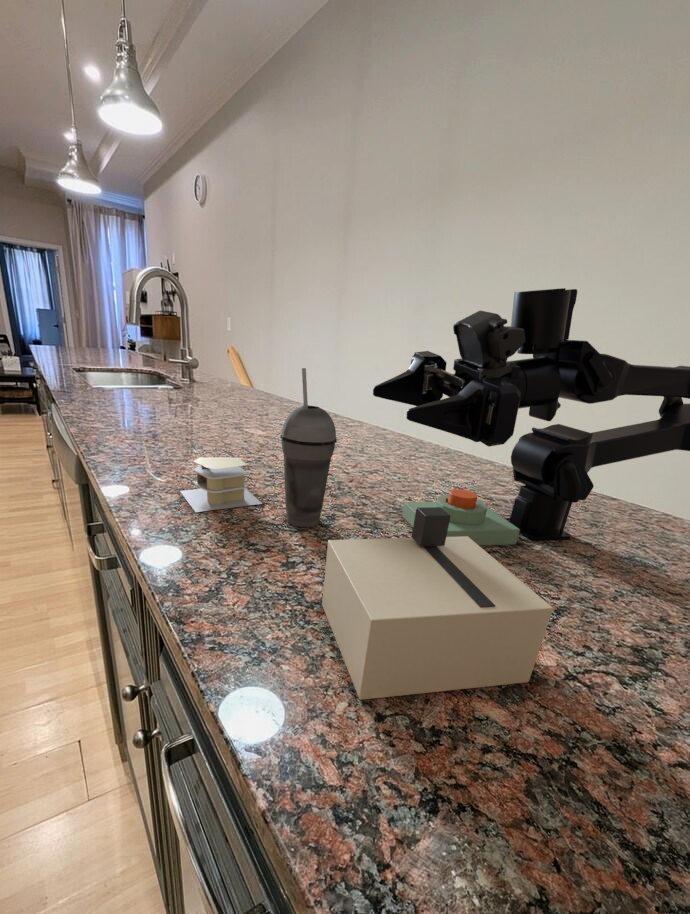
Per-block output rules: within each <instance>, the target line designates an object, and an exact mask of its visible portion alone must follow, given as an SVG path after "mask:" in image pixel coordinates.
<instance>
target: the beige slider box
mask: <svg viewBox="0 0 690 914" xmlns="http://www.w3.org/2000/svg"><path fill="white" fill-rule="evenodd" d="M324 570H325V571H324V581H323V590H322V591H323V592H322V601H321V605H322V608H323V610H324V613H325V616H326V618H327V620H328V624H329V626H330V628H331V631H332V633H333V636H334V639H335V641H336V644H337V646H338V649H339V651H340V654H341V656H342V659H343V661H344V664H345V666H346V669H347V672H348V674H349V677H350V679H351V682H352V684H353V687H354V689H355V692H356V694H357V697H358V699H359V700H360V701H363V700H373V699H381V698H391V697H401V696H411V695H419V694H429V693H439V692H449V691H457V690H465V689H466V690H467V689H477V688H486V687H496V686H505V685H515V684H516V685H517V684H526V683H529V682H530V680H531V676H532V674H533V671H534V667H535V664H536V662H537V659H538V655H539V652H540V651H541V650H540V649H541V646H542V643H543V640H544V637H545V634H546V632H547V628H548V626H549V624H550V623H549V622H550V620H551V618H552V614H553V611H554V607H553V606H551V605H550V604H549V602H547V601H545V600H544V599H543V598H542V597H541V596H539V595H538V594H537V593H536V592H535V591H534V590H532V589H531V588H530V587H529V586H528V585H526V584H525V583H524V582H523V581H522V580H521V579H519V577H517V576H516V575H514V574H513V573H512V572H511V571H510V570H509V569H508V568H506V567H505V566H504V565H503V564H502V563H500V561H498V560H496V559H495V558H494V557H493V555H491V554H489V553H488V551H486V550H484V548H482V547H481V545H477V544H476V543H475V542H474V541H473V540H471V539H470V538H469V537H468V536H461V537H446V541H445V545H444V546H419V544H418V543H417V542H416V541H415V540H414V539H413V538H412V537H396V538H395V537H393V538H363V539H362V538H361V539H360V538H358V539H357V538H356V539H355V538H353V539H352V538H351V539H328V541H327V549H326V559H325V569H324Z"/></svg>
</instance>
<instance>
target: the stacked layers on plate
mask: <svg viewBox="0 0 690 914" xmlns="http://www.w3.org/2000/svg"><path fill="white" fill-rule="evenodd" d="M193 462H194V463H196V464H198V466H197V467H195V468H193V472H194V473H195V474H196V481H194V482H193V484H194V486H196V487H197V488H194V489H193V488H192V489H184V490H183V489H182V490H179V492H180V493H181V495H182V496H183V498H184V499H185V500H186V501H187V503H188V505H189V506H190V507H191V509H192V510H193V511H194V513H201V512H207V511H216V510H223V509H225V510H226V509H232V508H233V509H234V508H241V507H247V506H255V505H263V503H262V502H261V501H260V500H259V499H258V498H257V497H256V496H255V495H254V494H252V493H251V491H249V490H248V485H247V484H246V483H245V482H246V481H245V479H246V477H245V476H248V472H247V471H246V470H245V469H244V468H243V466H248V463H246V462H245V461H244V460H242V459H241V458H240V457H219V456H218V457H213V456H211V457H209V456H207V457H198V458H196V459H194V460H193Z"/></svg>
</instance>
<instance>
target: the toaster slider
mask: <svg viewBox="0 0 690 914" xmlns="http://www.w3.org/2000/svg"><path fill="white" fill-rule="evenodd" d="M450 517H451V516H450V515H449V514H448V513H447V512H446V511H444V510H443V509H442V508H441V507H420V508H416V514H415V520H414V525H413V526H412V532H411V538H413V539H414V540H415V541H416V542H417V543H418V544H419V546H444V545H445V541H446V536H447V531H448V527H449V522H450Z"/></svg>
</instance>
